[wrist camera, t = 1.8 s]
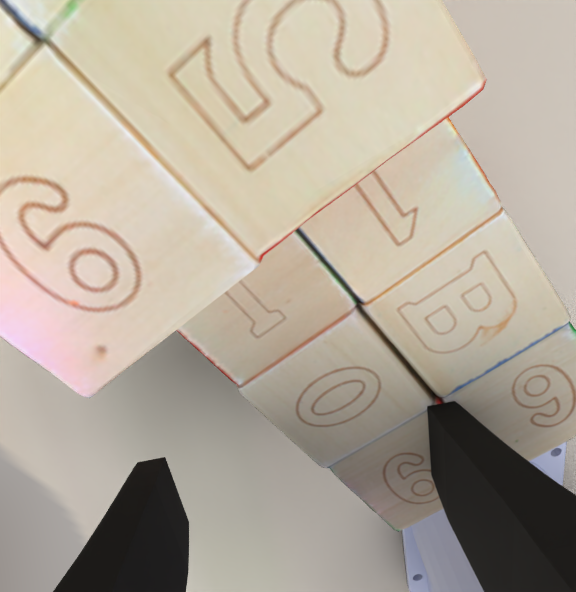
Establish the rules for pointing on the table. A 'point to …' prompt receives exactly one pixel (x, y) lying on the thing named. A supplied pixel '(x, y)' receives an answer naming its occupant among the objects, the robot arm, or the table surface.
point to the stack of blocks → (275, 223)
